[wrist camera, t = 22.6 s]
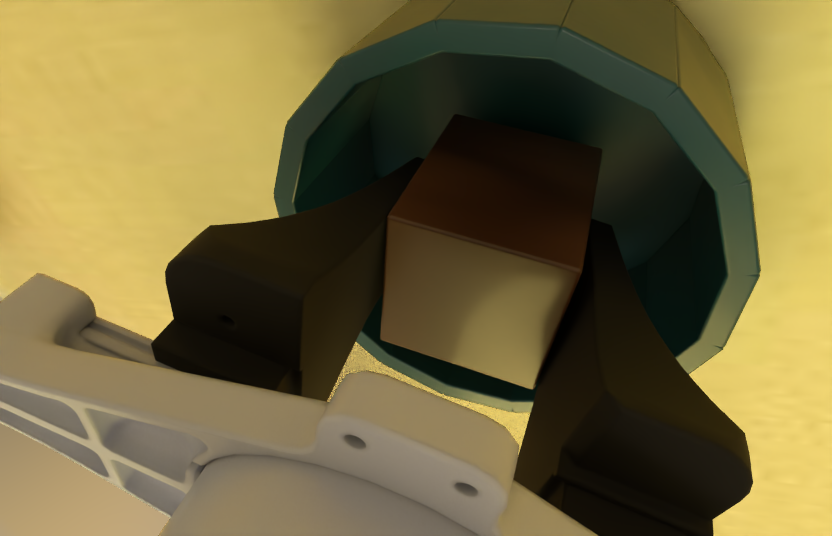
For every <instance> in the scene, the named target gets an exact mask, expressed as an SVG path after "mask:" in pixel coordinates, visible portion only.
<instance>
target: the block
mask: <svg viewBox="0 0 832 536" xmlns="http://www.w3.org/2000/svg"><path fill="white" fill-rule="evenodd" d="M602 153H603V151H602V149H601V148H598V147H594V146H589V145H585V144H581V143H577V142H573V141H568V140H564V139H560V138H556V137H552V136H547V135H543V134H539V133H535V132H530V131H526V130H522V129H518V128H514V127H509V126H505V125H501V124H497V123H493V122H488V121H484V120H480V119H476V118H472V117H467V116H463V115H459V114H454V115H453V117H452V118H451V120H450V121H449V123H448V124H447V126H446V128H445V129H444V131H443V132H442V134H441V135H440V137H439V138H438V140H437V141H436V143H435V144H434V146H433V147H432V149H431V150H430V152H429V153H428V155H427V157H426V158H425V160H424V161H423V163H422V164H421V166H420V167H419V169H418V170H417V172H416V173H415V175H414V176H413V178H412V179H411V181H410V182H409V184H408V186H407V187H406V189H405V190H404V192H403V193H402V195H401V196H400V198H399V199H398V201H397V202H396V204H395V205H394V207H393V208H392V210H391V211H390V213H389V215H388V216H387V228H386V246H385V264H384V282H383V299H382V317H381V335H380V338H381V340H383V341H386V342H389V343H392V344H395V345H398V346H401V347H404V348H407V349H410V350H413V351H416V352H419V353H422V354H425V355H428V356H431V357H434V358H437V359H440V360H443V361H447V362H450V363H453V364H456V365H459V366H462V367H465V368H468V369H471V370H474V371H477V372H480V373H483V374H486V375H489V376H492V377H495V378H498V379H501V380H504V381H507V382H510V383H513V384H516V385H519V386H522V387H525V388H528V389H534V388H535V387H536V384H537V382H538V379H539V377H540V374H541V372H542V369H543V367H544V364H545V362H546V360H547V357H548V355H549V352H550V350H551V347H552V345H553V342H554V340H555V337H556V335H557V332H558V330H559V328H560V325H561V323H562V320H563V318H564V315H565V313H566V310H567V308H568V305H569V303H570V300H571V298H572V296H573V293H574V291H575V288H576V286H577V283H578V281H579V278H580V276H581V273H582V270H583V264H584V258H585V252H586V246H587V241H588V235H589V229H590V223H591V217H592V211H593V206H594V200H595V194H596V188H597V182H598V176H599V170H600V165H601V159H602Z"/></svg>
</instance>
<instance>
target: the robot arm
mask: <svg viewBox="0 0 832 536" xmlns="http://www.w3.org/2000/svg"><path fill="white" fill-rule="evenodd" d="M424 160H425V159H422V158H419V157H416V158H413V159H412V160H410V161H408V162H407V163H405V164H404V165H402V166H401V167H399V168H397V169H396V170H394V171H393V172H391V173H389V174H388V175H386V176H384V177H383V178H381V179H379V180H377V181H375V182H374V183H372V184H370V185H368V186H366V187H365V188H363V189H361V190H358V191H356V192H354V193H352V194H350V195H348V196H346V197H344V198H342V199H339V200H337V201H335V202H332V203H329V204H326V205H324V206H321V207H318V208H315V209H311V210H307V211H304V212H300V213H296V214H292V215H289V216H284V217H279V218H274V219H269V220H262V221H256V222H248V223H237V224H225V225H210V226H209V227H208V228H207V229H205V230H204V231H203V232H202V233H200V234H199V235H198V236H197V237H196V238H194V239H193V240H192V241H191V242H190V243H189V244H188V245H187V246H186V247H185V248H184V249H183V250H182V251H181V252H180V253H179V254H178V255H177V256H176V257H175V258H174V259H173V260H171V261H170V262H169V263H168V266H167V269H166V271H165V277H166V285H167V290H168V294H169V299H170V303H171V308H172V312H173V317H174V319H173V321H172V322H171V323H170V324H169V325H168V326H167V327H166V328H165V329H164V330H163V331H162V332H161V333H160V334H159V336H158V337H157V338H156V339H155V340H151V339H149V338H147V337H144V336H142V335H139V334H137V333H135V332H132V331H130V330H128V329H125V328H123V327H121V326H118V325H116V324H113V323H111V322H109V321H106V320H104V319H102V318H99V317H97V316H96V311H95V307H94V304H93V302H92V300H91V299H90V297H89V296H88V295H87V294H86V293H84V292H83V291H81V290H80V289H78V288H76V287H73V286H71V285H69V284H66V283H64V282H61V281H59V280H57V279H54V278H52V277H50V276H47V275H45V274H41V273H37V274H36V275H34V276H33V277H32V278H30V279H29V280H28V281H27V282H25V283H24V284H23V285H21V286H20V287H19V288H17V289H16V290H15V291H13V292H12V293H11V294H10V295H8V296H7V297H6V298H4V299H3V300H2V301H0V423H1V424H3V425H5V426H7V427H9V428H11V429H13V430H16V431H17V432H20V433H22V434H24V435H25V436H27V437H29V438H31V439H33V440H35V441H37V442H39V443H41V444H43V445H45V446H46V447H48V448H50V449H52V450H54V451H56V452H57V453H59V454H61V455H63V456H65V457H66V458H68V459H70V460H72V461H73V462H75V463H77V464H79V465H80V466H82V467H84V468H86V469H87V470H89V471H91V472H92V473H94V474H96V475H98V476H99V477H101V478H103V479H104V480H106V481H108V482H109V483H111V484H113V485H115V486H116V487H118V488H120V489H121V490H123V491H125V492H127V493H128V494H130V495H132V496H133V497H135V498H137V499H138V500H140V501H142V502H144V503H146V504H147V505H149V506H151V507H152V508H154V509H156V510H157V511H159V512H161V513H162V514H164V515H166V516H168V517H169V518H170V519H169V521H168V522H167V524H166V525H165V526H164V528H163V529H162V531H161V532H160V534H159V535H158V536H713V521H712V519H714V518H715V517H717V516H718V515H720V514H722V513H723V512H725V511H726V510H728V509H729V508H731V507H732V506H734V505H735V504H737V503H738V502H740V501H741V500H742V499H743V498H744V497H746V496H747V495H748V494H749V493H750V490H751V487H752V484H753V479H752V472H751V462H750V455H749V450H748V446H747V441H746V437H745V433H744V432H743V431H742V430H741V429H740V428H739V427H738V426H737V425H736V424H735V423H734V422H733V421H732V420H731V419H730V418H729V417H728V416H727V415H726V414H725V413H723V412H722V411H721V410H720V409H719V408H718V407H717V406H716V405H715V404H714V403H713V402H712V401H711V400H710V399H709V397H708V396H707V395H706V394H705V393H704V392H703V391H702V390H701V389H700V387H699V386H698V385H697V384H696V383H695V382H694V381H693V379H692V378H691V377H690V376H689V375H688V373H687V372H686V371H685V370H684V369H683V367H682V366H681V365H680V363H679V362H678V361H677V359H676V358H675V357H674V355H673V354H672V353H671V351H670V350H669V349H668V347H667V346H666V344H665V343H664V341H663V340H662V338H661V337H660V335H659V333H658V332H657V330H656V328H655V327H654V325H653V324H652V322H651V320H650V319H649V317H648V315H647V313H646V311H645V309H644V308H643V305H642V303H641V301H640V299H639V297H638V295H637V293H636V291H635V288H634V286H633V284H632V281H631V279H630V276H629V274H628V271H627V269H626V266H625V263H624V260H623V257H622V255H621V252H620V249H619V246H618V242H617V239H616V236H615V233H614V230H613V228H612V225H609V224H606V223H603V222H600V221H597V220H595V219H592V218H591V223H590V229H589V235H588V241H587V246H586V252H585V258H584V264H583V270H582V273H581V276H580V278H579V281H578V283H577V286H576V288H575V291H574V293H573V296H572V298H571V300H570V303H569V305H568V308H567V310H566V313H565V315H564V318H563V320H562V323H561V325H560V328H559V330H558V332H557V335H556V337H555V340H554V342H553V345H552V347H551V350H550V352H549V355H548V357H547V360H546V362H545V364H544V367H543V369H542V372H541V374H540V378H539V383H538V387H537V391H536V394H535V398H534V402H533V406H532V410H531V413H530V417H529V421H528V424H527V428H526V431H525V435H524V438H523V442H522V446H521V449H520V452H519V456H518V451H519V445H518V443H517V442H516V441H515V439H514V438H513V437H512V435H511V434H510V433H509V431H508V430H507V429H506V428H505V427H504V426H503V425H501V424H499V423H498V422H496V421H494V420H493V419H491V418H489V417H487V416H486V415H483V414H481V413H478V412H476V411H474V410H471V409H469V408H466V407H464V406H461V405H459V404H456V403H454V402H451V401H449V400H447V399H444V398H442V397H439V396H437V395H434V394H432V393H429V392H427V391H425V390H422V389H420V388H417V387H415V386H412V385H410V384H407V383H405V382H403V381H400V380H398V379H395V378H393V377H390V376H388V375H384V374H379V373H375V372H371V371H362V372H357V373H351V374H347V375H346V376H345V377H344V379H343V380H342V381H341V383H340V384H339V386H338V388H337V390H336V391H335V393H334V395H333V397H332V399H331V401H330V402H327V400H328V398H329V396H330V394H331V392H332V389H333V387H334V385H335V383H336V381H337V379H338V377H339V375H340V372H341V370H342V368H343V366H344V364H345V362H346V360H347V358H348V356H349V354H350V352H351V350H352V348H353V346H354V344H355V342H356V340H357V338H358V336H359V334H360V332H361V330H362V328H363V326H364V324H365V322H366V320H367V318H368V316H369V314H370V313H371V311H372V309H373V307H374V306H375V304H376V303H377V301H378V300H379V298H380V296H381V295H382V293H383V282H384V264H385V246H386V228H387V216H388V215H389V213H390V211H391V210H392V208H393V207H394V205H395V204H396V202H397V201H398V199H399V198H400V196H401V195H402V193H403V192H404V190H405V189H406V187H407V186H408V184H409V182H410V181H411V179H412V178H413V176H414V175H415V173H416V172H417V170H418V169H419V167H420V166H421V164H422V163H423V161H424Z"/></svg>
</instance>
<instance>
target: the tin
mask: <svg viewBox="0 0 832 536" xmlns="http://www.w3.org/2000/svg"><path fill="white" fill-rule="evenodd" d="M454 114H459V115H463V116H467V117H472V118H476V119H480V120H484V121H488V122H493V123H497V124H501V125H505V126H509V127H514V128H518V129H522V130H526V131H530V132H535V133H539V134H543V135H547V136H552V137H556V138H560V139H564V140H568V141H573V142H577V143H581V144H585V145H589V146H594V147H598V148H601V149H602V151H603V153H602V159H601V165H600V170H599V176H598V182H597V188H596V194H595V200H594V206H593V211H592V217H591V218H592V219H595V220H597V221H600V222H603V223H606V224H609V225H612V228H613V230H614V233H615V236H616V239H617V242H618V246H619V249H620V252H621V255H622V257H623V260H624V263H625V266H626V269H627V271H628V274H629V276H630V279H631V281H632V284H633V286H634V288H635V291H636V293H637V295H638V297H639V299H640V301H641V303H642V305H643V308H644V309H645V311H646V313H647V315H648V317H649V319H650V320H651V322H652V324H653V325H654V327H655V328H656V330H657V332H658V333H659V335H660V337H661V338H662V340H663V341H664V343H665V344H666V346H667V347H668V349H669V350H670V351H671V353H672V354H673V355H674V357H675V358H676V359H677V361H678V362H679V363H680V365H681V366H682V367H683V369H684V370H685V371H686V372H687V373H688V374H690V373H691V372H692V371H694V370H695V369H697V368H698V367H699V366H701V365H702V364H703V363H705V362H706V361H708V360H709V359H710V358H712V357H713V356H715V355H716V354H717V353H719V352H720V351H721V350H723V347H724V346H725V345H726V343H727V341H728V339H729V337H730V335H731V333H732V331H733V329H734V327H735V325H736V323H737V321H738V319H739V317H740V315H741V313H742V311H743V309H744V307H745V305H746V303H747V301H748V299H749V297H750V295H751V293H752V291H753V289H754V287H755V285H756V283H757V281H758V279H759V277H760V274H759V273H760V271H761V267H760V258H759V249H758V240H757V231H756V222H755V213H754V204H753V195H752V186H751V179H750V175H749V170H748V166H747V162H746V157H745V153H744V148H743V144H742V139H741V135H740V131H739V126H738V122H737V117H736V113H735V108H734V104H733V100H732V95H731V91H730V86H729V82H728V79H727V77H726V74H725V72H724V71H723V70H722V68H721V67H720V66H719V64H718V63H717V61H716V59H715V58H714V56H713V54H712V53H711V51H710V49H709V48H708V46H707V45H706V43H705V41H704V40H703V38H702V36H701V35H700V34H699V33H698V31H697V30H696V29H695V28H694V27H693V25H692V24H691V23H690V22H689V21H688V20H687V18H686V17H685V16H684V15H683V14H682V13H681V11H680V10H679V9H678V7H677V6H674V4H673V3H672V2H670V1H668V0H410V1H409V2H408V3H406V4H405V5H404V6H403V7H401V8H400V9H399V10H398V11H397V12H395V13H394V14H393V15H392V16H390V17H389V18H388V19H387V20H386V21H384V22H383V23H382V24H381V25H379V26H378V27H377V28H376V29H374V30H373V31H372V32H371V33H370V34H368V35H367V36H366V37H365V38H363V39H362V40H361V41H360V42H359V43H357V44H356V45H355V46H354V47H352V48H351V49H350V50H349V51H348V52H346V53H345V54H344V55H343V56H341V57H340V58H339V59H338V60H337V61H336V62H335V63H334V64H333V66H332V67H331V68H330V69H329V71H328V72H327V73H326V74H325V76H324V77H323V78H322V79H321V80H320V82H319V83H318V84H317V85H316V87H315V88H314V89H313V90H312V92H311V93H310V94H309V95H308V97H307V98H306V99H305V100H304V101H303V103H302V104H301V105H300V106H299V108H298V109H297V110H296V111H295V113H294V114H293V115H292V116H291V118H290V119H289V120H288V121H287V124H286V127H285V132H284V138H283V143H282V149H281V155H280V160H279V166H278V172H277V177H276V183H275V188H274V199H275V203H276V207H277V211H278V215H279V217H284V216H289V215H292V214H296V213H300V212H304V211H307V210H311V209H315V208H318V207H321V206H324V205H326V204H329V203H332V202H335V201H337V200H339V199H342V198H344V197H346V196H348V195H350V194H352V193H354V192H356V191H358V190H361V189H363V188H365V187H366V186H368V185H370V184H372V183H374V182H375V181H377V180H379V179H381V178H383V177H384V176H386V175H388V174H389V173H391V172H393V171H394V170H396V169H397V168H399V167H401V166H402V165H404V164H405V163H407V162H408V161H410V160H412V159H413V158H416V157H419V158H422V159H425V158H426V157H427V155H428V153H429V152H430V150H431V149H432V147H433V146H434V144H435V143H436V141H437V140H438V138H439V137H440V135H441V134H442V132H443V131H444V129H445V128H446V126H447V124H448V123H449V121H450V120H451V118H452V117H453V115H454ZM382 299H383V293H382V295H381V296H380V298H379V300H378V301H377V303H376V304H375V306H374V307H373V309H372V311H371V313H370V314H369V316H368V318H367V320H366V322H365V324H364V326H363V328H362V330H361V332H360V334H359V336H358V338H357V340H356V342H357V343H358V344H359V345H361V346H362V347H363V348H364V349H365V350H366V351H368V352H369V353H370V354H371V355H372V356H373V357H375V358H376V359H377V360H378V361H379V362H382V363H383V364H384V365H386V366H388V367H390V368H392V369H394V370H396V371H398V372H400V373H402V374H404V375H406V376H408V377H410V378H412V379H414V380H416V381H417V382H419V383H421V384H423V385H425V386H427V387H429V388H431V389H433V390H435V391H437V392H439V393H441V394H444V395H446V396H450V397H454V398H458V399H462V400H466V401H469V402H473V403H477V404H481V405H485V406H489V407H493V408H497V409H501V410H505V411H508V412H515V413H531V410H532V406H533V402H534V398H535V394H536V391H537V387H538V383H539V379H538V382H537V384H536V387H535V388H534V389H528V388H525V387H522V386H519V385H516V384H513V383H510V382H507V381H504V380H501V379H498V378H495V377H492V376H489V375H486V374H483V373H480V372H477V371H474V370H471V369H468V368H465V367H462V366H459V365H456V364H453V363H450V362H447V361H443V360H440V359H437V358H434V357H431V356H428V355H425V354H422V353H419V352H416V351H413V350H410V349H407V348H404V347H401V346H398V345H395V344H392V343H389V342H386V341H383V340H381V338H380V335H381V317H382ZM539 378H540V377H539Z"/></svg>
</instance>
